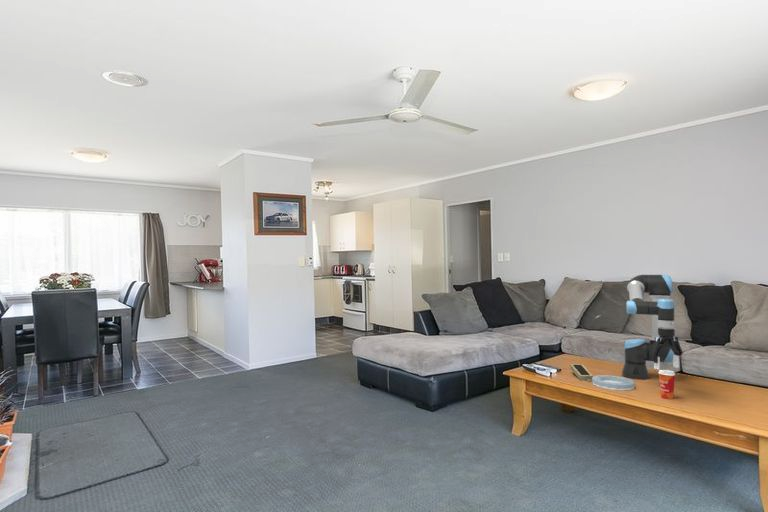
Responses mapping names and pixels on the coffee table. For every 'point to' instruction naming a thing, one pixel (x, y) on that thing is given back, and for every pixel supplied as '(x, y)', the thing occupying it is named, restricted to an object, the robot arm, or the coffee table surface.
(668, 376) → the paper cup
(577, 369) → the box
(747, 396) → the coffee table surface
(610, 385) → the ring tray
